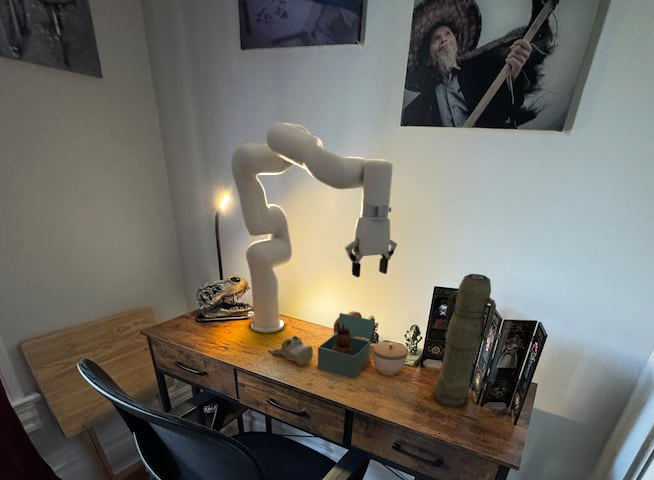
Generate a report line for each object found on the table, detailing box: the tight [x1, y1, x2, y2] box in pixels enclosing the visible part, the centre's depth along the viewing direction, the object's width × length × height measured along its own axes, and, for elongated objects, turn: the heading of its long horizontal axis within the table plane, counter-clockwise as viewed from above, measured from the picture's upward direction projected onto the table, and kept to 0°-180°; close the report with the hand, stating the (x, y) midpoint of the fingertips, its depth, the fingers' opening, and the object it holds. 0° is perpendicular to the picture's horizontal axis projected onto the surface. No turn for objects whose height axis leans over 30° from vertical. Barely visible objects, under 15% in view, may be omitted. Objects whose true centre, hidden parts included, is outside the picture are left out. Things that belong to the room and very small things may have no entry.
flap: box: [337, 312, 376, 341], centre depth 123 cm, size 12×6×1 cm
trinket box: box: [372, 341, 409, 376], centre depth 119 cm, size 11×11×9 cm
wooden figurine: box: [332, 322, 354, 356], centre depth 118 cm, size 7×6×15 cm
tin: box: [333, 311, 363, 337], centre depth 141 cm, size 15×3×8 cm, turn 143°
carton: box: [317, 333, 372, 379], centre depth 121 cm, size 13×13×7 cm
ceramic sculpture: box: [267, 335, 314, 367], centre depth 122 cm, size 11×9×15 cm
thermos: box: [434, 273, 497, 407], centre depth 100 cm, size 9×12×35 cm
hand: (369, 274), depth 113 cm, fingers open, 9 cm apart
